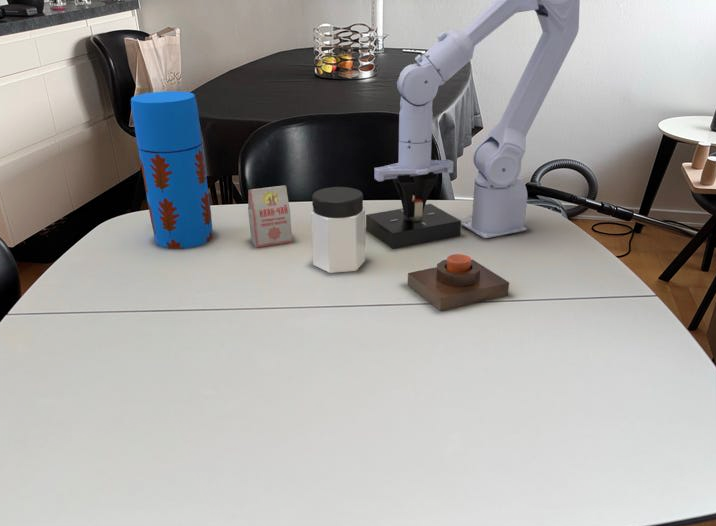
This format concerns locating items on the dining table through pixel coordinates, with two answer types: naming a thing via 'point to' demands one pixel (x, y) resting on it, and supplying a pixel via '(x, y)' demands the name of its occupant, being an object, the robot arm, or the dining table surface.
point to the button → (458, 263)
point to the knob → (416, 209)
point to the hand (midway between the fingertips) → (412, 215)
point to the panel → (412, 227)
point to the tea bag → (269, 216)
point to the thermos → (173, 167)
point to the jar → (338, 229)
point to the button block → (457, 285)
